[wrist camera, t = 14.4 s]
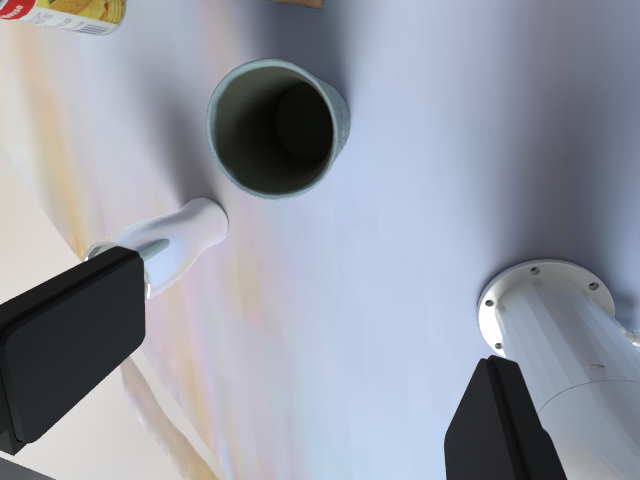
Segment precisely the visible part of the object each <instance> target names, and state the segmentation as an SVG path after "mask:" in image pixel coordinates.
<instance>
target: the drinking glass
mask: <svg viewBox="0 0 640 480" xmlns="http://www.w3.org/2000/svg"><path fill="white" fill-rule="evenodd" d="M349 131H350V116H349V112H348V108H347V106H346V103H345V101H344V99H343V98H342V96H341V95H340V94H339V92H338V91H337V90H336V89H334V88H333V87H332V86H331V85H329V84H328V83H326V82H324V81H323V80H321V79H319V78H317V77H315V76H313V75H312V74H311V73H309V72H308V71H306V70H305V69H303V68H302V67H300V66H298V65H296V64H294V63H291V62H289V61H286V60H282V59H278V58H266V59H260V60H255V61H251V62H247V63H244V64H243V65H241V66H239V67H237V68H235V69H233V70H232V71H231V72H230V73H229V74H227V75H226V76H225V77H224V78H223V79H222V81H221V82H220V83H219V84H218V86H217V87H216V89H215V91H214V92H213V95H212V97H211V100H210V102H209V106H208V110H207V118H206V132H207V139H208V143H209V147H210V150H211V154H212V156H213V158H214V160H215V161H216V163H217V165H218V167H219V169H220V170H221V171H222V173H223V174H224V175H225V176H226V177H227V178H228V179H229V181H230V182H231V183H233V184H234V185H235V186H237V187H238V188H239V189H240V190H242V191H244V192H246V193H247V194H250V195H252V196H254V197H257V198H261V199H265V200H273V201H278V200H288V199H292V198H296V197H299V196H301V195H304V194H305V193H307V192H308V191H310V190H312V189H313V188H314V187H315V186H317V185H318V184H319V183H320V182H321V181H322V180H323V179H324V177H325V176H326V175H327V173H328V172H329V170H330V168H331V166H332V164H333V162H334V161H335V160H336V158H337V157H338V155H339V154H340V152H341V151H342V149H343V148H344V146H345V144H346V142H347V139H348V136H349Z"/></svg>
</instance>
